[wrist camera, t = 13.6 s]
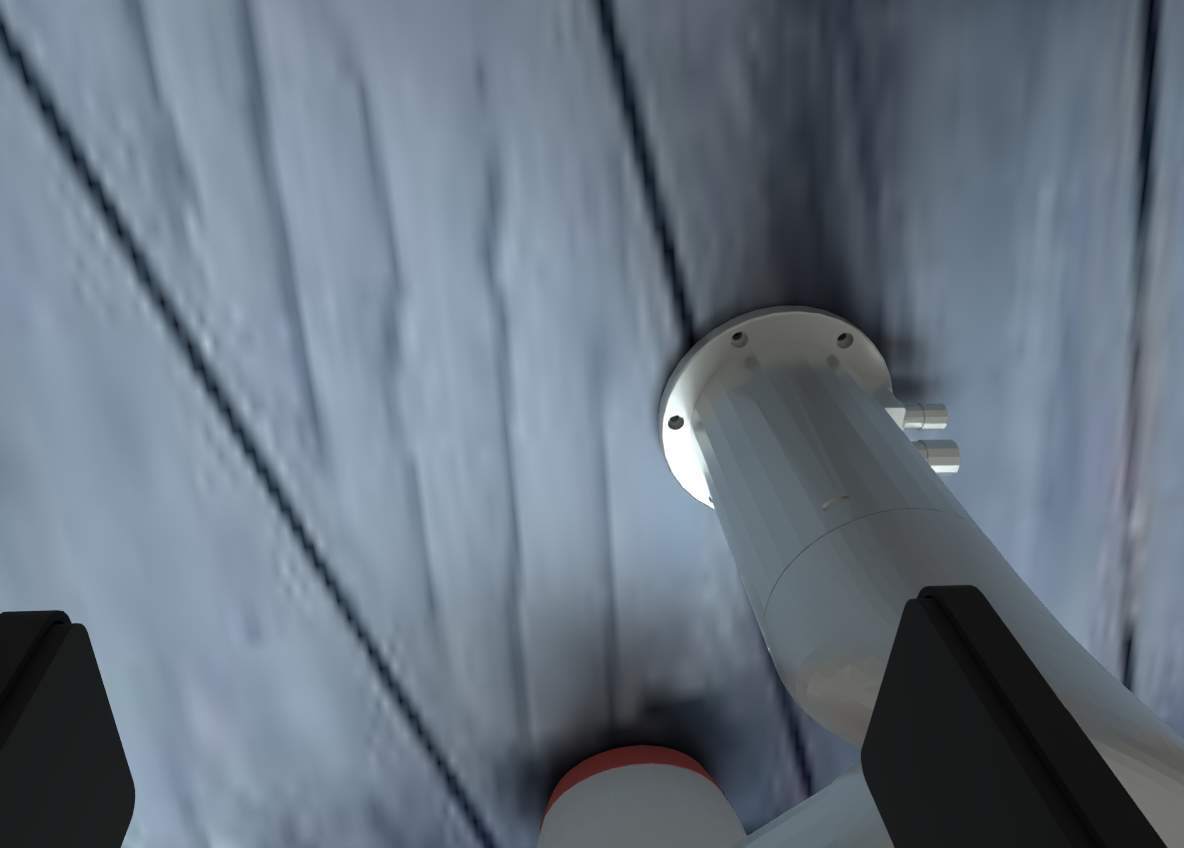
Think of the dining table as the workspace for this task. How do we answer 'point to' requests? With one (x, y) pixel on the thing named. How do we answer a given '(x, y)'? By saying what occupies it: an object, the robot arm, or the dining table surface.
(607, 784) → the citrus juicer
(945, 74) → the dining table surface
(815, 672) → the robot arm
